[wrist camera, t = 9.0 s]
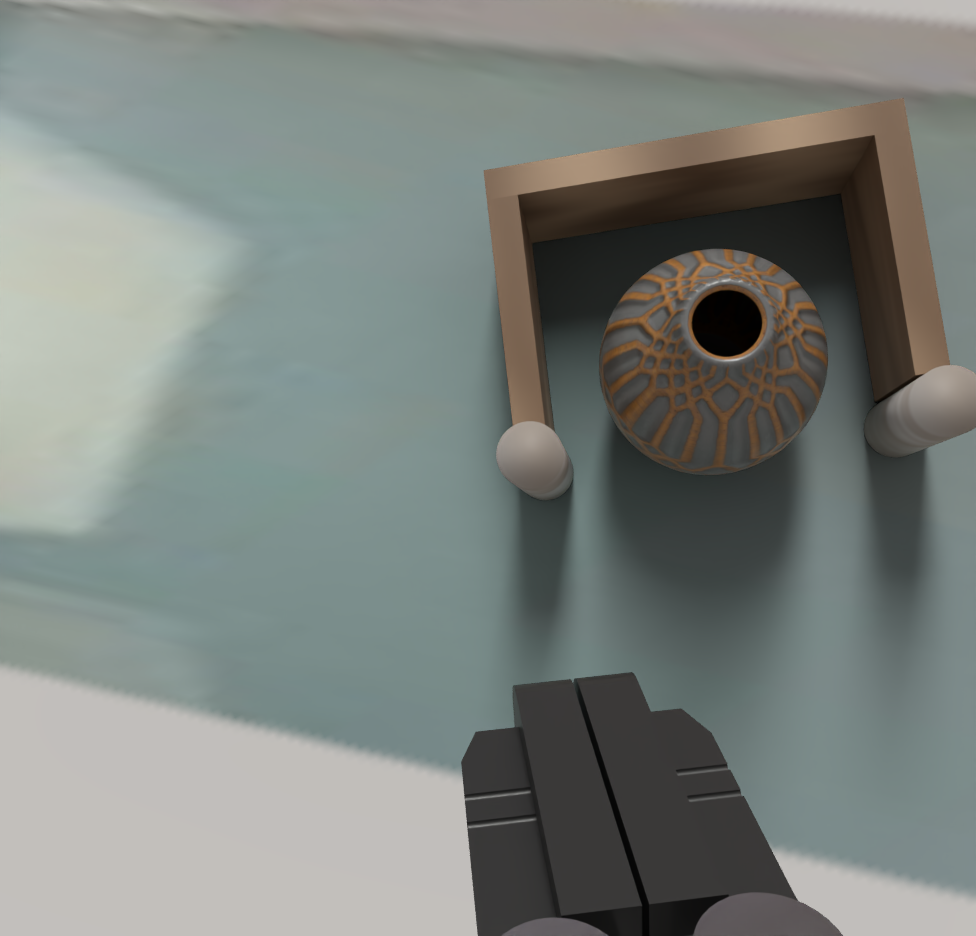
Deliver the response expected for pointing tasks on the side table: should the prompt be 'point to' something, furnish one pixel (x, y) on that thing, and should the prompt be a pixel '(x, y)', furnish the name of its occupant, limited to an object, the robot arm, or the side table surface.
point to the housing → (729, 187)
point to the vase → (713, 361)
